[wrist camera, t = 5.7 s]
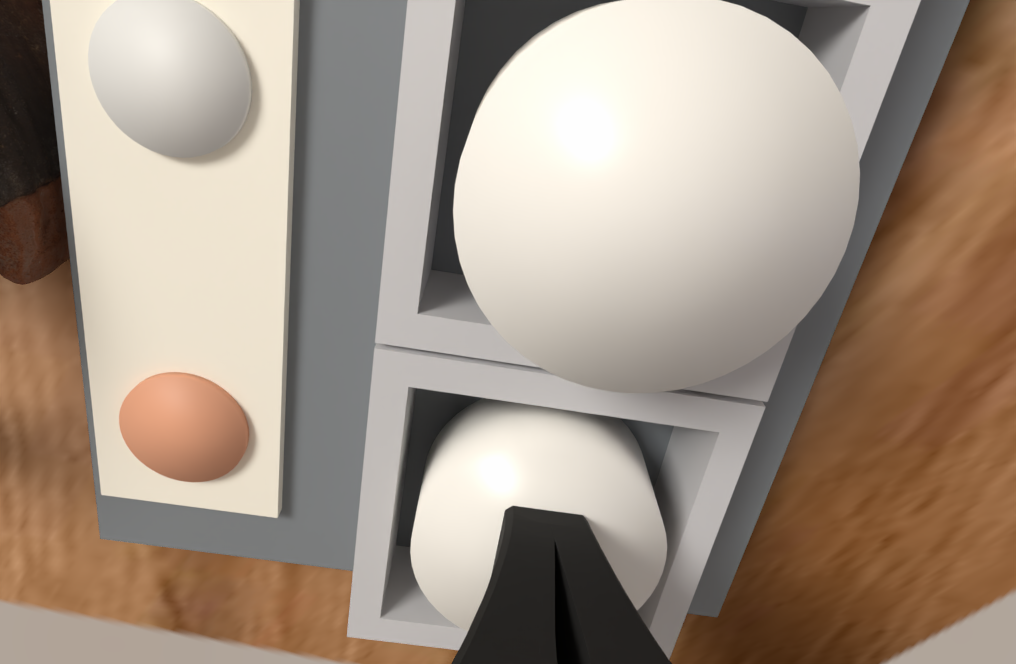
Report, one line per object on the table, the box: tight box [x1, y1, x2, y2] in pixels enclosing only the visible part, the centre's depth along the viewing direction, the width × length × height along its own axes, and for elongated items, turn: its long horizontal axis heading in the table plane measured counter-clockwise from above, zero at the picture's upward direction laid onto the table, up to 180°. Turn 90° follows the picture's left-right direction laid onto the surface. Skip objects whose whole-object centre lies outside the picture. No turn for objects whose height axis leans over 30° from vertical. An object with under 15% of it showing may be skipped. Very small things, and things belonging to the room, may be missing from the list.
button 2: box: [410, 398, 667, 632], centre depth 13 cm, size 4×4×2 cm
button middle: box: [453, 0, 860, 393], centre depth 8 cm, size 4×4×2 cm
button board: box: [42, 0, 970, 659], centre depth 11 cm, size 14×20×4 cm
